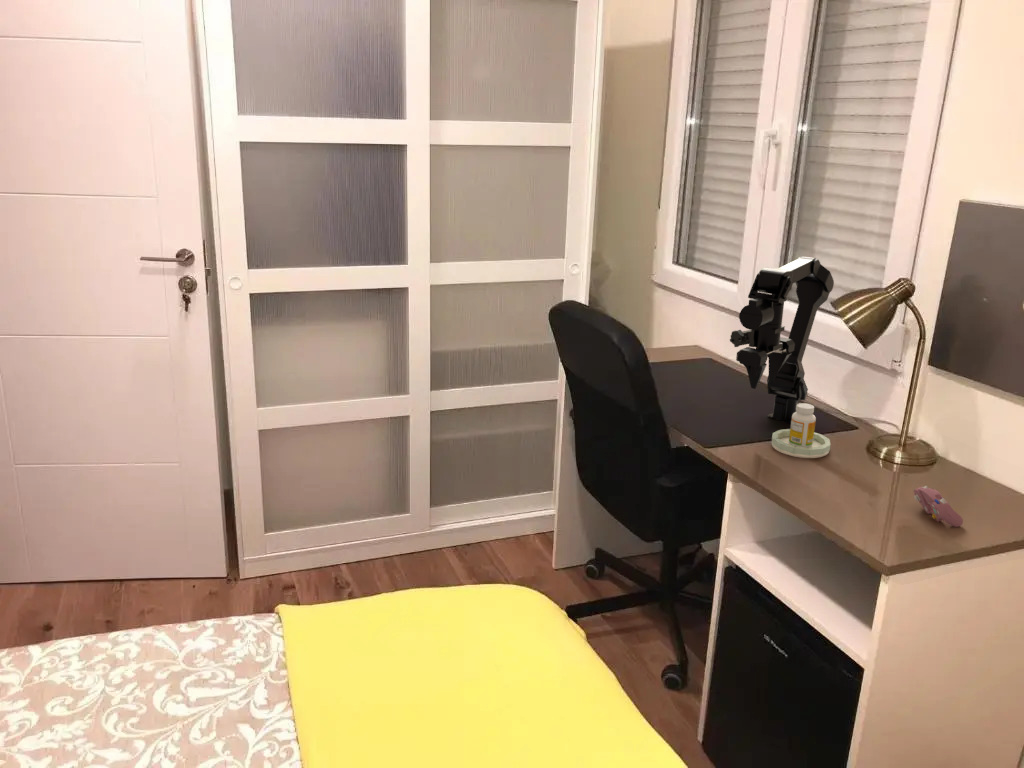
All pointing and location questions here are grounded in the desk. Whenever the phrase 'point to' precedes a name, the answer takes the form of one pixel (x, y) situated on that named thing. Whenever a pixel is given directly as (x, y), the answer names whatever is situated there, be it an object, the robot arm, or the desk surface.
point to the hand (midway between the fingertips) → (762, 384)
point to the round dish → (815, 451)
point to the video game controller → (937, 506)
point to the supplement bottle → (802, 426)
